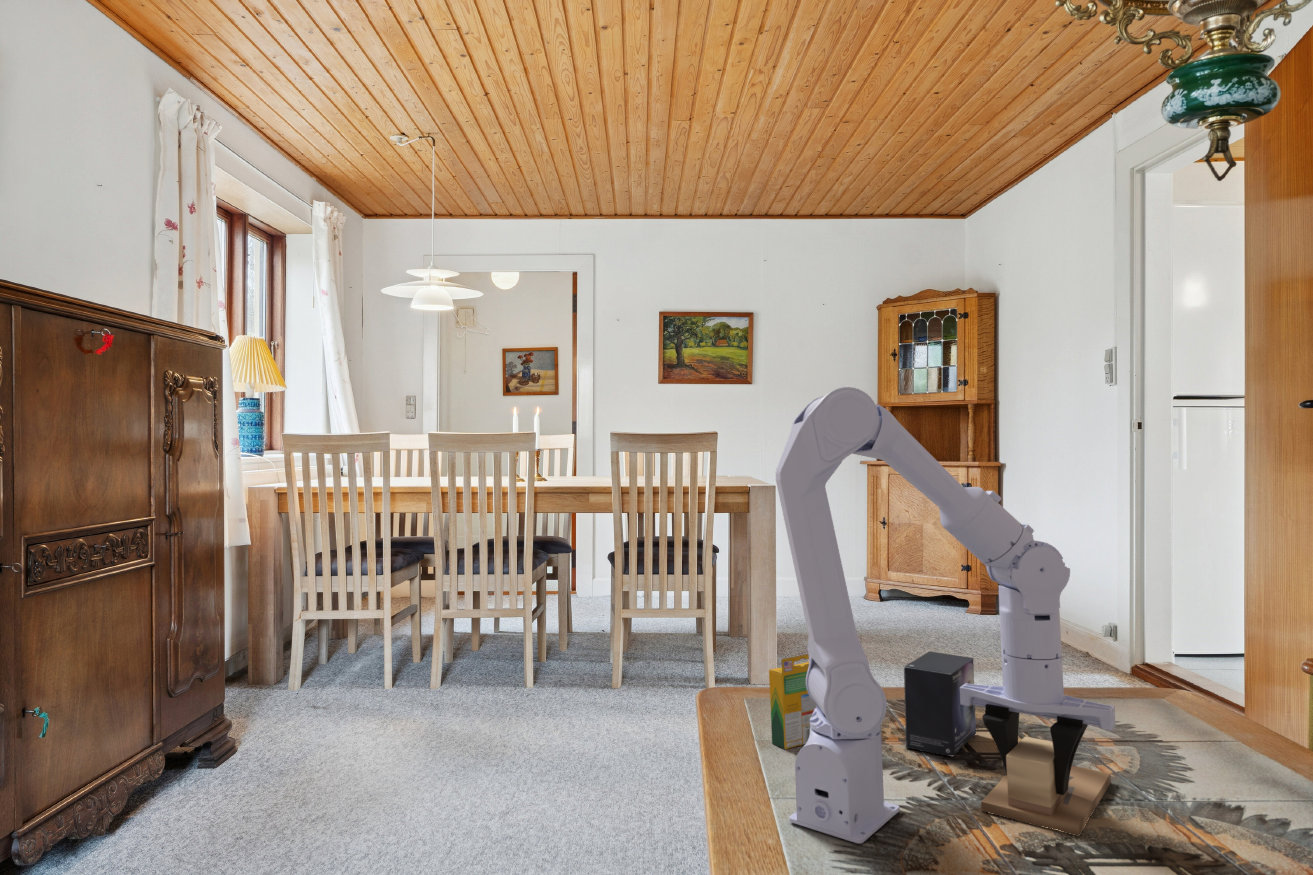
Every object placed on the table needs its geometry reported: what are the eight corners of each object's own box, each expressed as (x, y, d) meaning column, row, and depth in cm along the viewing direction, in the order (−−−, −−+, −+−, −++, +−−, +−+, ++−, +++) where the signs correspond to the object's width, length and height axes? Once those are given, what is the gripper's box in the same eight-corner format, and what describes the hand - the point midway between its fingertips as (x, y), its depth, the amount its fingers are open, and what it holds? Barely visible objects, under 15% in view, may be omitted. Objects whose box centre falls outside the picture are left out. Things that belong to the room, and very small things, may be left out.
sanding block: (1051, 815, 75) (1048, 764, 75) (1008, 805, 77) (1006, 755, 77) (1068, 791, 80) (1065, 743, 80) (1027, 782, 82) (1024, 736, 83)
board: (1078, 836, 72) (1078, 825, 72) (981, 811, 78) (981, 801, 78) (1110, 782, 84) (1110, 773, 85) (1024, 764, 90) (1024, 755, 90)
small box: (956, 759, 92) (952, 673, 93) (904, 749, 96) (900, 666, 97) (979, 734, 101) (975, 655, 101) (930, 726, 105) (926, 649, 105)
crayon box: (812, 732, 103) (809, 647, 104) (827, 739, 101) (824, 651, 101) (770, 743, 99) (767, 654, 100) (785, 750, 97) (782, 658, 98)
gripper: (1117, 655, 77) (1125, 790, 77) (972, 638, 87) (978, 758, 86) (1104, 669, 72) (1112, 814, 71) (951, 650, 82) (956, 778, 81)
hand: (1037, 785), depth 78 cm, fingers closed on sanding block, 4 cm apart
